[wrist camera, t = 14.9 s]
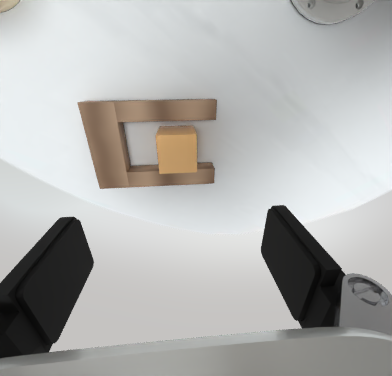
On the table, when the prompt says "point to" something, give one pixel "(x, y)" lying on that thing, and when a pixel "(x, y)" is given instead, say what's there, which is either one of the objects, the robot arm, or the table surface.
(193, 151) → the orange-brown rectangular block
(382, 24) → the table surface
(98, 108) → the notched board
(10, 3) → the disc
